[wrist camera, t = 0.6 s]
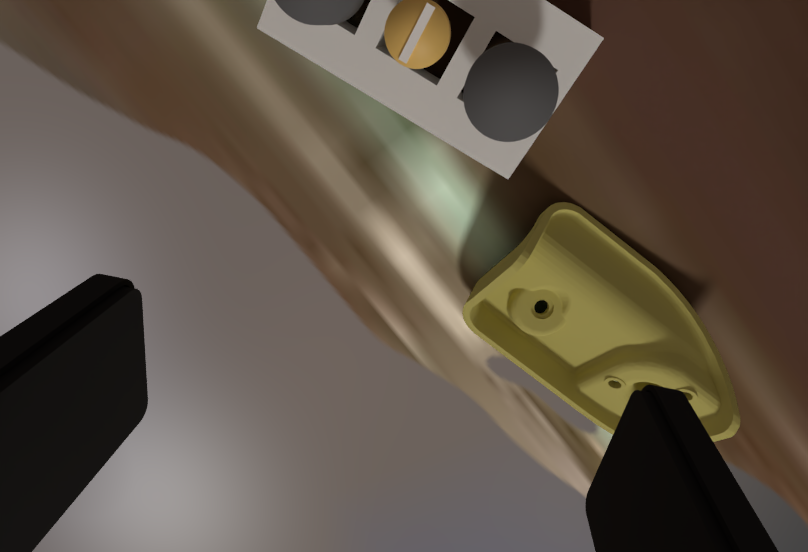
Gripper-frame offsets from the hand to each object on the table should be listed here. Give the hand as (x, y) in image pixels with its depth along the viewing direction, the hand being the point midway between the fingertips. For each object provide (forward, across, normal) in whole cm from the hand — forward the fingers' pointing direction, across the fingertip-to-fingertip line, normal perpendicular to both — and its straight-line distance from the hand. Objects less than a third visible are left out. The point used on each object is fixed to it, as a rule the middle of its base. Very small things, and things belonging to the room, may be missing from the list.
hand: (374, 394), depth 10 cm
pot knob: (+29, +2, -6) cm, 29 cm away
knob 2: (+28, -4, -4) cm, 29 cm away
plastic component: (+32, -15, +13) cm, 38 cm away
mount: (+32, +2, -6) cm, 32 cm away
